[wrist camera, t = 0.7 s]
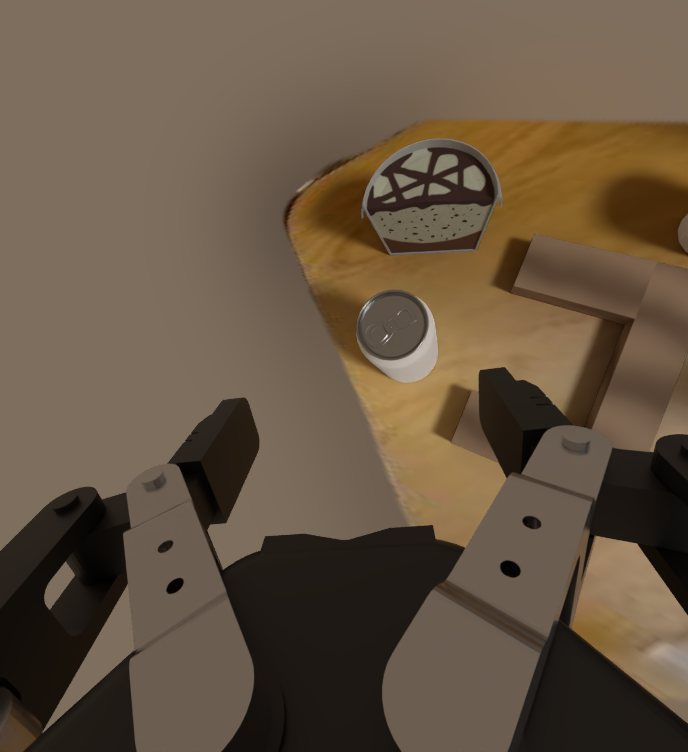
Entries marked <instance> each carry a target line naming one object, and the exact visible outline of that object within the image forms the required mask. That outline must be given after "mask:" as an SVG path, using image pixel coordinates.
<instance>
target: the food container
mask: <svg viewBox="0 0 688 752" xmlns="http://www.w3.org/2000/svg"><path fill="white" fill-rule="evenodd" d="M498 199H499V200H500V207H503V204H502V193H501V186H500V182H499V178H498V176H497V174H496V172H495V170H494V168H493V167H492V165H491V163H490V162H489V161H488V159H487V158H486V157H485V156H484V155H483V154H482V153H481V152H480V151H479V150H477V149H475V148H474V147H472V146H471V145H468V144H466V143H464V142H461V141H457V140H452V139H442V138H440V139H429V140H424V141H419V142H416V143H414V144H411V145H408V146H406V147H404V148H402V149H400V150H399V151H397V152H396V153H394V154H393V155H391V156H390V157H389V158H388V159H387V160H386V161H385V162H383V164H382V165H381V166H380V167H379V168H378V169H377V170H376V172H375V173H374V175H373V176H372V178H371V180H370V182H369V184H368V186H367V188H366V191H365V194H364V198H363V201H362V207H361V217H362V218H363V217H364V211H365V213H366V214H367V216H368V218H369V220H370V221H371V223H372V225H373V227H374V228H375V230H376V232H377V234H378V235H379V237H380V239H381V241H382V242H383V244H384V246H385V248H386V249H387V251H388V253H389V255H408V254H428V253H448V252H468V251H477V249H478V246H479V244H480V241H481V239H482V236H483V234H484V232H485V229H486V227H487V224H488V222H489V219H490V217H491V214H492V212H493V209H494V207H495V205H496V202H497V200H498Z"/></svg>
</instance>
